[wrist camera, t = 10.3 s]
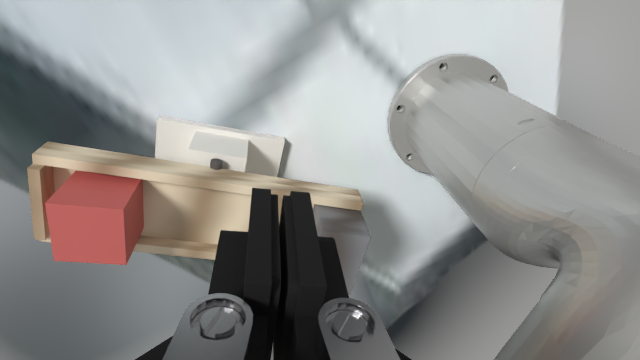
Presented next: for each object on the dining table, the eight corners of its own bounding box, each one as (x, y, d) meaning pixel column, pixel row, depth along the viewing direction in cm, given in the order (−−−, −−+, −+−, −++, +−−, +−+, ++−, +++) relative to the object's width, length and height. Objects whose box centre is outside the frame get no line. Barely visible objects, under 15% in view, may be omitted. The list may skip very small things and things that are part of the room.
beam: (358, 181, 37) (376, 221, 31) (334, 258, 41) (345, 307, 35) (50, 131, 31) (0, 169, 25) (57, 226, 35) (15, 278, 29)
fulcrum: (284, 137, 40) (287, 160, 35) (265, 226, 45) (265, 256, 40) (159, 115, 37) (144, 136, 33) (153, 212, 42) (139, 243, 37)
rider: (142, 177, 32) (123, 209, 28) (144, 227, 34) (126, 264, 30) (75, 170, 31) (44, 203, 27) (81, 222, 34) (53, 260, 29)
